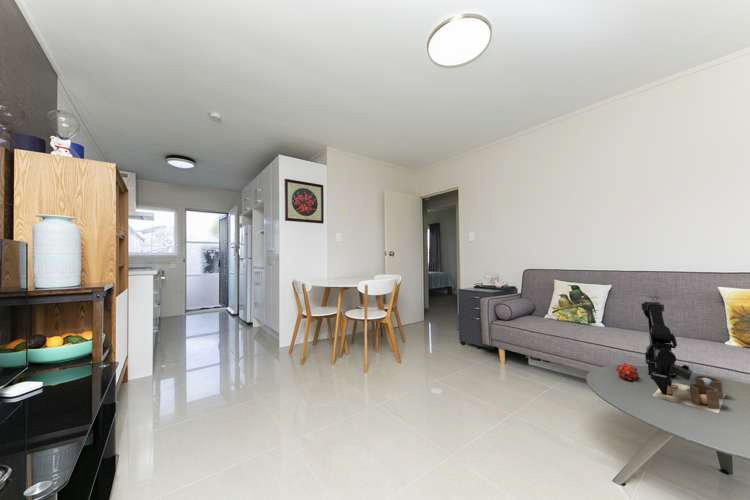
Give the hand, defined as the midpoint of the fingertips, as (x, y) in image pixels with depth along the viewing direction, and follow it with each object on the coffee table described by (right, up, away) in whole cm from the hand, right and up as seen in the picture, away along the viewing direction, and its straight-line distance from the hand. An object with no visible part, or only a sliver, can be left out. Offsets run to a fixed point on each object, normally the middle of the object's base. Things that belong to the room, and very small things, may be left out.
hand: (666, 392), depth 127 cm
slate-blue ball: (+18, +5, -2) cm, 19 cm away
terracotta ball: (0, -1, 0) cm, 1 cm away
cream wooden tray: (+8, -1, -1) cm, 8 cm away
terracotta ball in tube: (+6, 0, -10) cm, 12 cm away
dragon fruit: (-1, -3, +18) cm, 18 cm away
